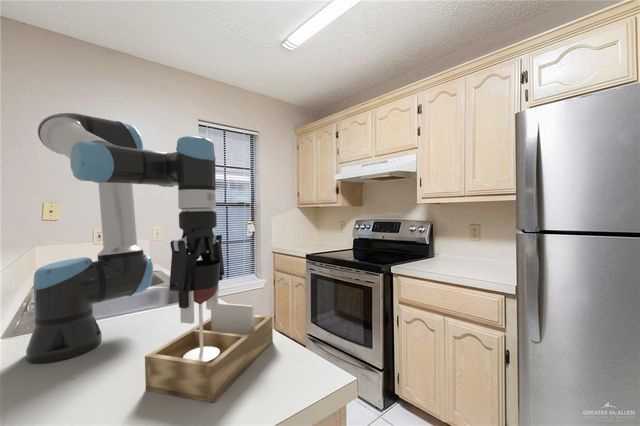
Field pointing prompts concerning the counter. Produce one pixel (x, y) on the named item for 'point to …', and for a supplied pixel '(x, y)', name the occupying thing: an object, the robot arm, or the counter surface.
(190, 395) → the wooden divided tray
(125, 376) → the counter surface
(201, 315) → the wineglass
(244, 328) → the white flat panel
